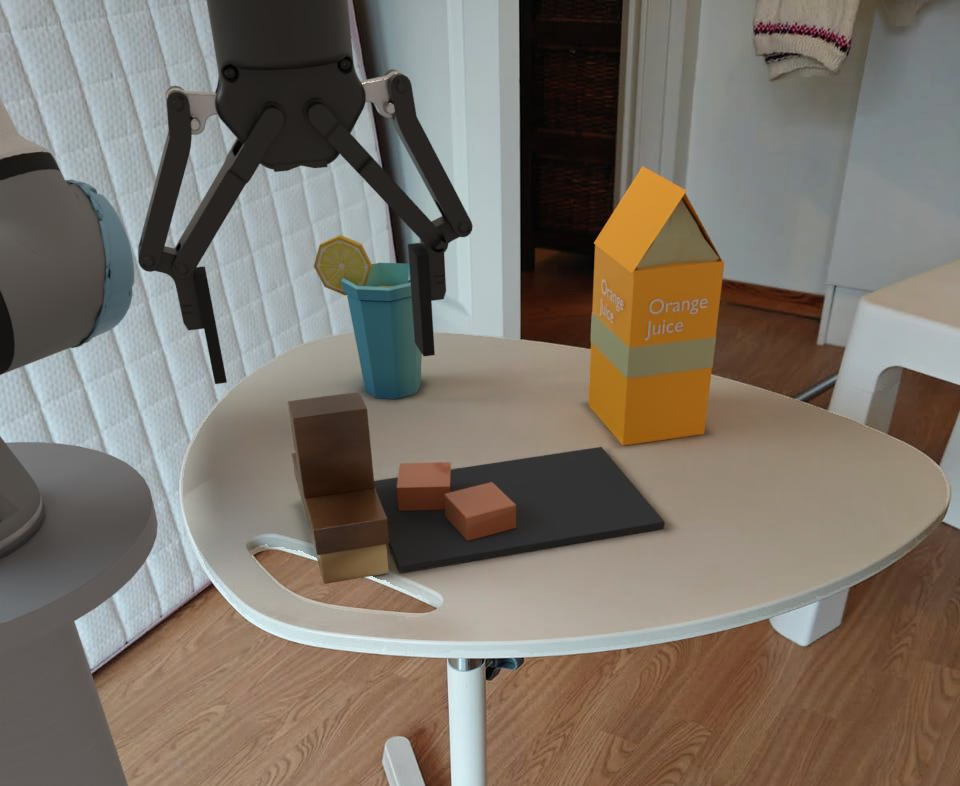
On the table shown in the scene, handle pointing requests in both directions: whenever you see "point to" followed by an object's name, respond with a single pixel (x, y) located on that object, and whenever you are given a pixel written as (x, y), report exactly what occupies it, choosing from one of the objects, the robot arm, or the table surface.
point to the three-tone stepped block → (339, 486)
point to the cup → (375, 315)
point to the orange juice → (653, 315)
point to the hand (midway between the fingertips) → (324, 362)
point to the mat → (524, 509)
